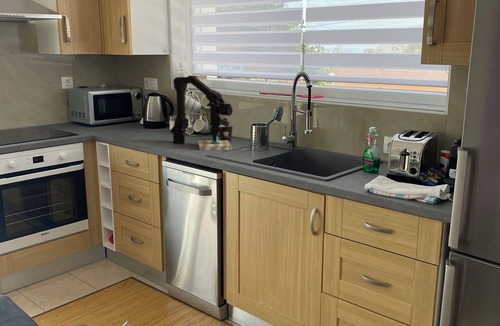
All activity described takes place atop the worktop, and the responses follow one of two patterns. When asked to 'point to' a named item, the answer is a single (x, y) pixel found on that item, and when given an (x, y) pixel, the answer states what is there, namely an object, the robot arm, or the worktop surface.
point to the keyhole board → (214, 145)
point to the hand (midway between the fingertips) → (214, 140)
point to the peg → (215, 141)
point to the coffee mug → (226, 133)
